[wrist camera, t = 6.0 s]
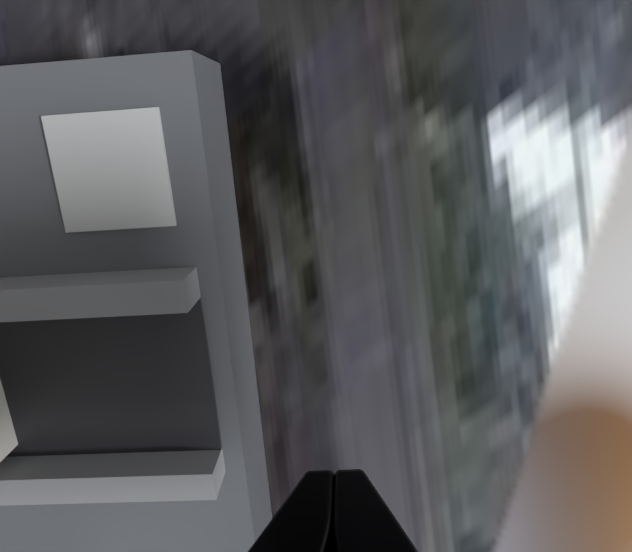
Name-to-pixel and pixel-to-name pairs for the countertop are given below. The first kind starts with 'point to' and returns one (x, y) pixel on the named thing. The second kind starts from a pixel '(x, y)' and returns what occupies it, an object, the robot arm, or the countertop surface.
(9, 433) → the switch tab
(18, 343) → the switch board
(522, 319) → the countertop surface
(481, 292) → the countertop surface
